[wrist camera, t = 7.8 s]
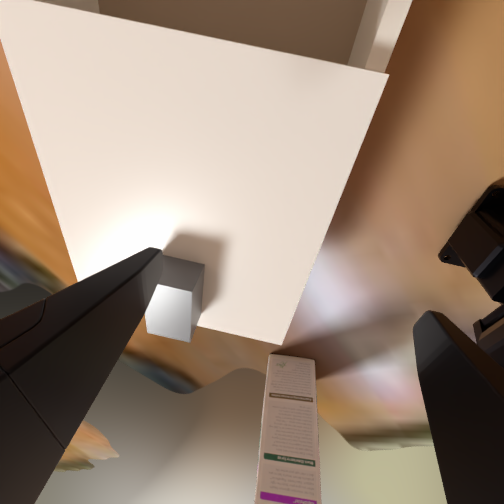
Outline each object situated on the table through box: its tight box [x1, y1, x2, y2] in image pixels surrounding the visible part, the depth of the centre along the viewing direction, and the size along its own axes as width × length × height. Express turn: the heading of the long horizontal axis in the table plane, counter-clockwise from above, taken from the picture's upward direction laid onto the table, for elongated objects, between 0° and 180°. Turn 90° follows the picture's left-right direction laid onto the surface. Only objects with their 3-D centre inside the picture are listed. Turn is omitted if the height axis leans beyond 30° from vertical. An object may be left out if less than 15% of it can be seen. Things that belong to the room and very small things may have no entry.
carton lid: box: [0, 0, 389, 345], centre depth 15 cm, size 16×18×3 cm
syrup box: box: [255, 354, 322, 504], centre depth 30 cm, size 6×6×14 cm
